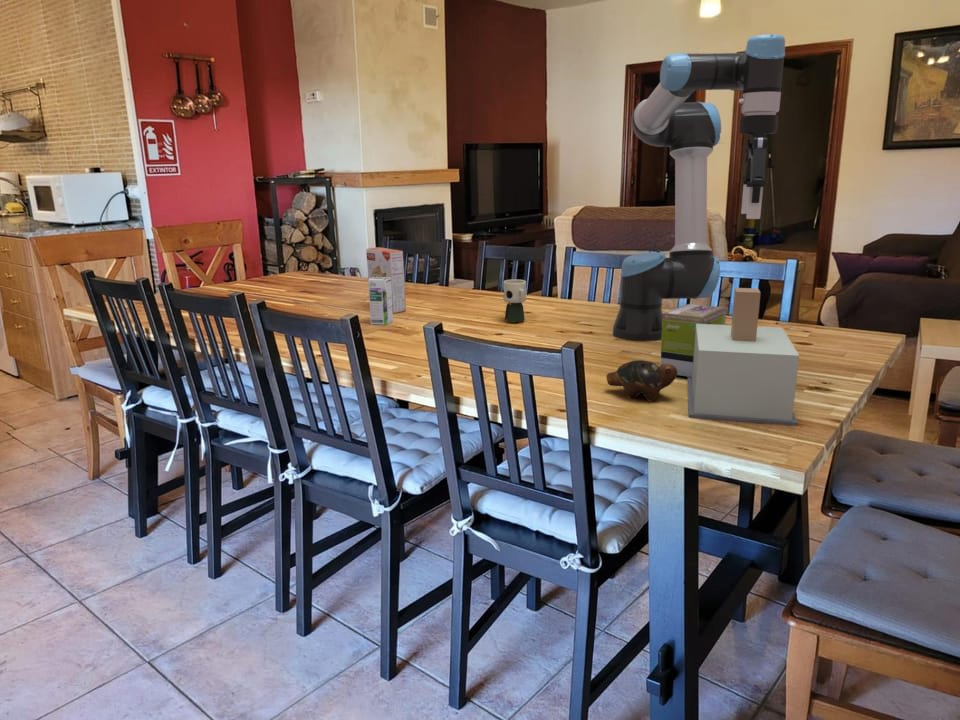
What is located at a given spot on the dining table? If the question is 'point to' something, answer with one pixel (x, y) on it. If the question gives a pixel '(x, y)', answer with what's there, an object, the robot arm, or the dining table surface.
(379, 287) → the syrup box
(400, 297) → the cracker box
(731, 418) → the mat
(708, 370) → the cover
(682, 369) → the tea box
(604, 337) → the dining table surface
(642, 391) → the decorative turtle
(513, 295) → the character mug
